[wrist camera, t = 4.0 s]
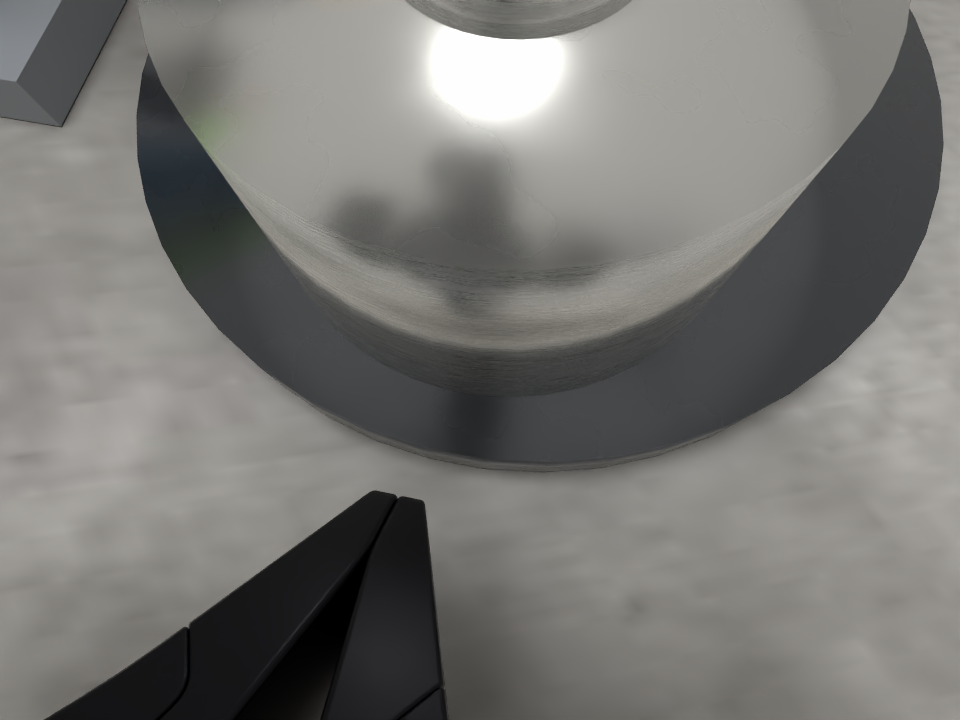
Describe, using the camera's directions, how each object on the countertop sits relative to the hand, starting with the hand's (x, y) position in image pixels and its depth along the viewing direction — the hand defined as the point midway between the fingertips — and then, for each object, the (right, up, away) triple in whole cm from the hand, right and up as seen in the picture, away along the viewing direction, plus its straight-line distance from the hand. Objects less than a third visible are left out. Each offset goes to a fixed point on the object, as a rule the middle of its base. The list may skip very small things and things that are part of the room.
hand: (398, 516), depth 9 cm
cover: (+2, +8, +8) cm, 11 cm away
